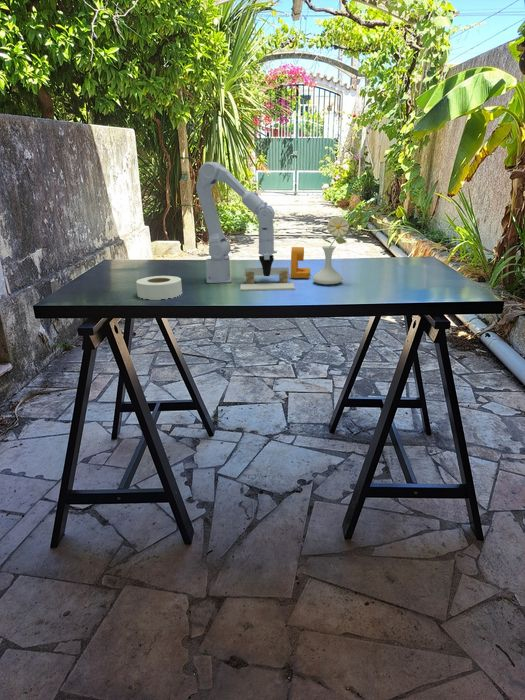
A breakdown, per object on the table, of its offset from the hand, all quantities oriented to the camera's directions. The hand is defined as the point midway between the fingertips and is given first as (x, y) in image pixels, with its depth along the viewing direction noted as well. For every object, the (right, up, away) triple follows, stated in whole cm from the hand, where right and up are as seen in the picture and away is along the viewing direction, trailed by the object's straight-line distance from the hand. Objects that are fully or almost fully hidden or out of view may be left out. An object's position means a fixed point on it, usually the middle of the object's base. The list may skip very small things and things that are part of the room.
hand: (266, 275), depth 185 cm
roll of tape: (-38, -10, -14) cm, 42 cm away
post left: (-6, -3, +1) cm, 7 cm away
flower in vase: (+24, -4, -2) cm, 25 cm away
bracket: (+14, +1, +10) cm, 17 cm away
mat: (0, -6, -7) cm, 9 cm away
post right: (+7, -3, +1) cm, 7 cm away
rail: (0, 0, 0) cm, 0 cm away
